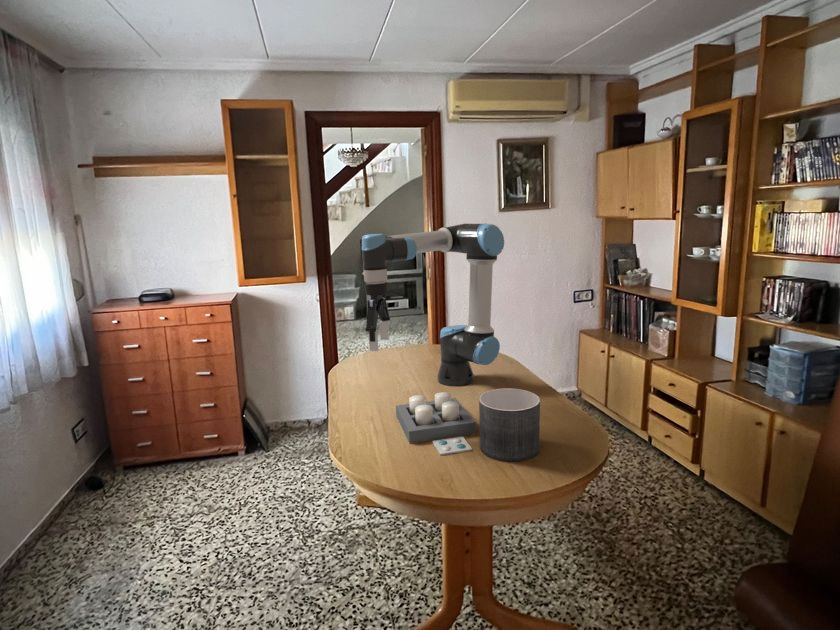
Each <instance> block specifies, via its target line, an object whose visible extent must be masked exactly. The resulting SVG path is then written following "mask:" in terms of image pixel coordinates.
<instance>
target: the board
mask: <svg viewBox="0 0 840 630" xmlns="http://www.w3.org/2000/svg"><path fill="white" fill-rule="evenodd" d="M451 401H452V402H457V403H458V404H459V420H458V421H451V422H443V421H442V411H440V412H436V411H435V400H427V401H426V405H429V406H431V407H432V412H433V424H429V425H422V426H416V417H415V415H410V405H409V403H407V404H397V405H395V416H396V418H397V421H398V420H399V421H398V423H399V424H400V426H401V429H402V431H403V433H404V435H405V437H406V439H407V441H408V443H409V444H414V443H422V442H428V441H434V440H441V439H448V438H455V437H462V436H463V437H464V436H468V435H469V436H470V435H475V434H477V422H476V420H475V419H474V418H473V417H472V415H470V413H469V412H468V410H467V409H466V408H465V407H464V406H463V405H462V404H461V403H460V401H459V400H458V399H457V398H456V397H451Z"/></svg>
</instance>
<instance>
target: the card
mask: <svg viewBox="0 0 840 630" xmlns="http://www.w3.org/2000/svg"><path fill="white" fill-rule="evenodd" d="M431 441H432V444H433V445H434V448H435V449H436V451H437V453H438V454H439V456H446V455H451V454H457V453H465V452H470V451H473V448H472V446H471V445H470V444H469V443H468V442H467V440H466V439H465V437H464V435H463V436H456V437H450V438H443V439H436V440H431Z"/></svg>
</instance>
